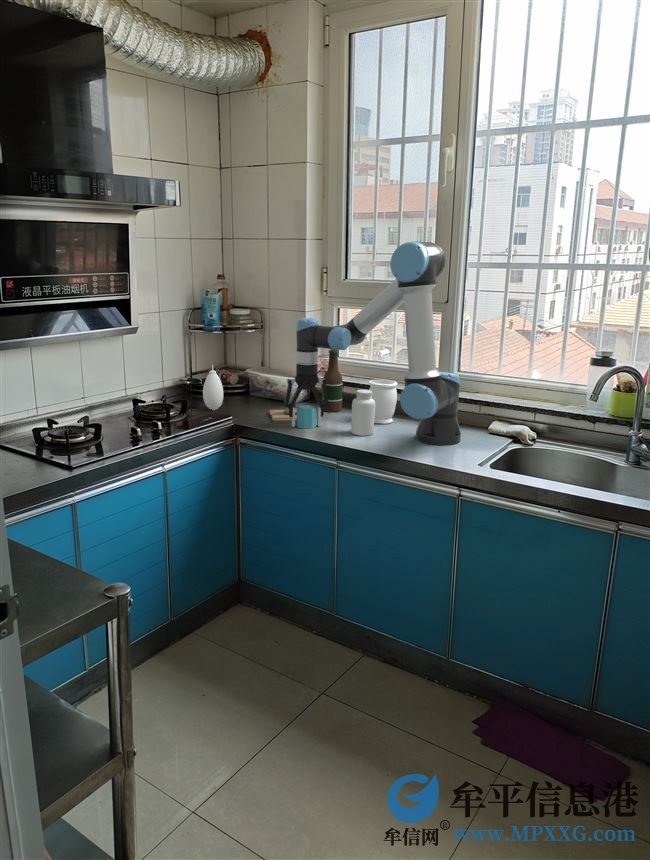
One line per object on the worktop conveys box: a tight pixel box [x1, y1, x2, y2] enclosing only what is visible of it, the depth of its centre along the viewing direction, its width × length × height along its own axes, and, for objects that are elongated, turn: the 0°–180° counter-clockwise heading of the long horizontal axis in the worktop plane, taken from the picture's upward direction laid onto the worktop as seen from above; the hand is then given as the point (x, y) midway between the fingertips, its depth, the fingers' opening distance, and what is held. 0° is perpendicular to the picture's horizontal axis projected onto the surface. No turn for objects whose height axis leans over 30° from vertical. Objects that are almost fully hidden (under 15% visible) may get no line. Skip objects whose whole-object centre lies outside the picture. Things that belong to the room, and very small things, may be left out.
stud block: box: [268, 392, 297, 424], centre depth 249 cm, size 16×12×9 cm
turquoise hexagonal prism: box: [296, 404, 317, 430], centre depth 238 cm, size 7×7×7 cm
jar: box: [368, 379, 398, 425], centre depth 246 cm, size 11×10×15 cm
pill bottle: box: [350, 389, 375, 437], centre depth 230 cm, size 8×8×15 cm
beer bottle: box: [321, 349, 344, 413], centre depth 260 cm, size 8×8×24 cm
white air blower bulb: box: [202, 364, 224, 411], centre depth 257 cm, size 8×8×18 cm
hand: (306, 425), depth 239 cm, fingers open, 9 cm apart
